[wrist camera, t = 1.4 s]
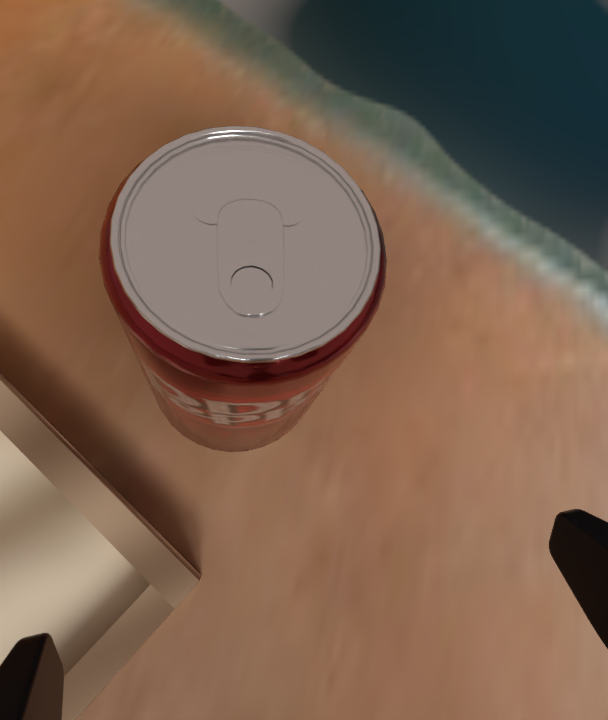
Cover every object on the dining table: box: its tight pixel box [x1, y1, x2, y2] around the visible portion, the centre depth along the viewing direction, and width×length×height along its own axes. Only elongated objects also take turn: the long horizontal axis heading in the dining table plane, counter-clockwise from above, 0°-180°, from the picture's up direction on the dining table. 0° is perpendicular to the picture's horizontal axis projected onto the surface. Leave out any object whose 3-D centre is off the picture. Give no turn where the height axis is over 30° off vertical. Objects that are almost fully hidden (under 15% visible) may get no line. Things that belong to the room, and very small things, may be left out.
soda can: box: [99, 126, 387, 452], centre depth 18 cm, size 7×7×12 cm
